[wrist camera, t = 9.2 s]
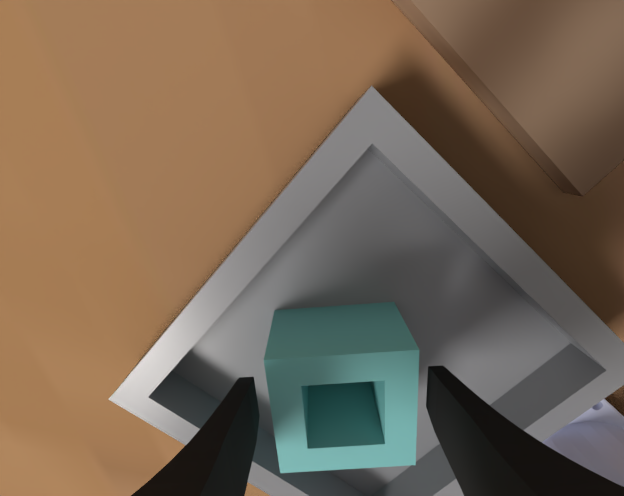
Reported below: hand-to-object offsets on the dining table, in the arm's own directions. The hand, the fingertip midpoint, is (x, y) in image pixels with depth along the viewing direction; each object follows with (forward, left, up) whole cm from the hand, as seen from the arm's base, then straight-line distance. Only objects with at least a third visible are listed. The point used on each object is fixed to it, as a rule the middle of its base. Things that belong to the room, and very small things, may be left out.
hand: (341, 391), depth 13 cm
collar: (0, 0, -2) cm, 2 cm away
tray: (-1, -1, -3) cm, 3 cm away
